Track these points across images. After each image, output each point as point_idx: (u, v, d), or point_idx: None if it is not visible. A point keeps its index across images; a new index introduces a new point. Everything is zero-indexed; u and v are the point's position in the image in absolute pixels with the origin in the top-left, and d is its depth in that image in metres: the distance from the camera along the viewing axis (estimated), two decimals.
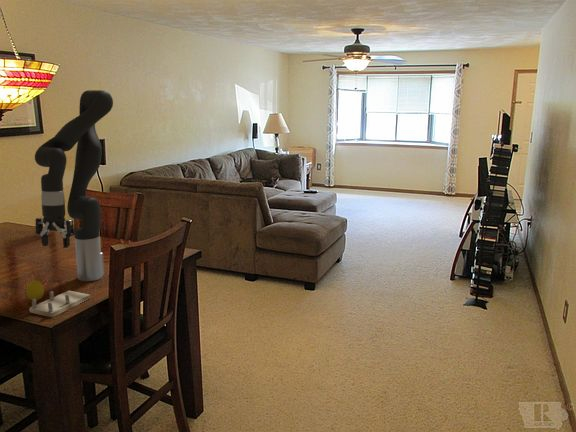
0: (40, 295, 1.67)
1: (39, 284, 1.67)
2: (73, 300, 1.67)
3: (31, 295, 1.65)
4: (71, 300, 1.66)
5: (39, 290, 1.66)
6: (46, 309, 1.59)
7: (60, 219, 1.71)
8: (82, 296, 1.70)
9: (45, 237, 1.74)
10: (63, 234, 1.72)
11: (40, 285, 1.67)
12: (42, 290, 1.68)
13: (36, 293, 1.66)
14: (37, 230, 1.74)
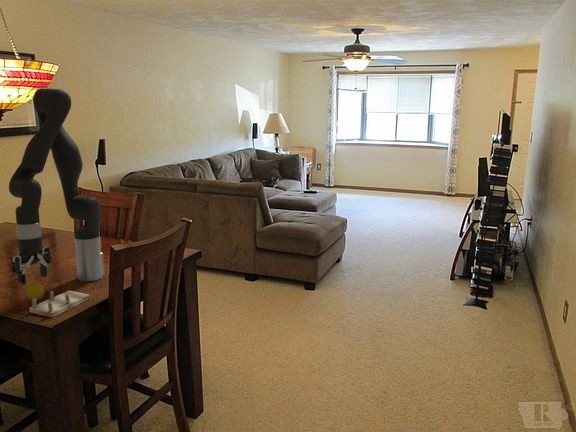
0: (40, 295, 1.67)
1: (39, 284, 1.67)
2: (73, 300, 1.67)
3: (31, 295, 1.65)
4: (71, 300, 1.66)
5: (39, 290, 1.66)
6: (46, 309, 1.59)
7: (41, 249, 1.67)
8: (82, 296, 1.70)
9: None
10: (45, 263, 1.69)
11: (40, 285, 1.67)
12: (42, 290, 1.68)
13: (36, 293, 1.66)
14: (18, 270, 1.59)
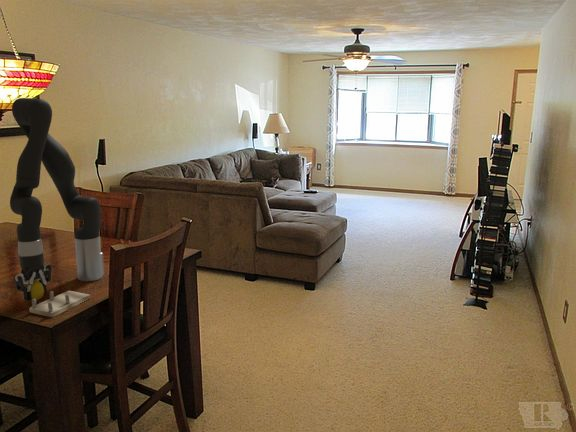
0: (40, 295, 1.67)
1: (39, 284, 1.67)
2: (73, 300, 1.67)
3: (31, 295, 1.65)
4: (71, 300, 1.66)
5: (39, 290, 1.66)
6: (46, 309, 1.59)
7: (43, 265, 1.69)
8: (82, 296, 1.70)
9: None
10: (44, 281, 1.70)
11: (40, 285, 1.67)
12: (42, 290, 1.68)
13: (36, 293, 1.66)
14: (23, 287, 1.62)
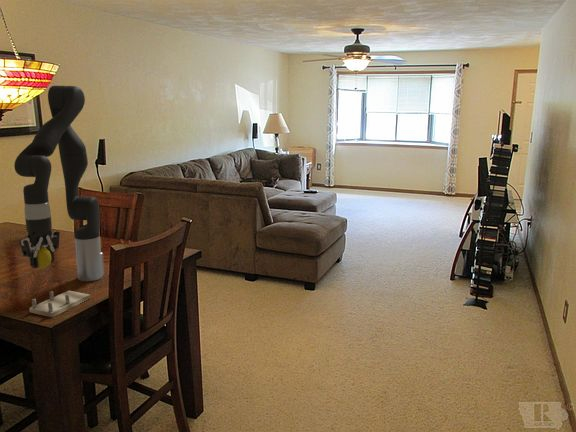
0: (47, 262, 1.58)
1: (46, 250, 1.58)
2: (73, 300, 1.67)
3: (38, 261, 1.57)
4: (71, 300, 1.66)
5: (46, 257, 1.58)
6: (46, 309, 1.59)
7: (50, 230, 1.60)
8: (82, 296, 1.70)
9: None
10: (51, 248, 1.61)
11: (47, 252, 1.58)
12: (49, 257, 1.59)
13: (43, 259, 1.57)
14: (29, 252, 1.53)
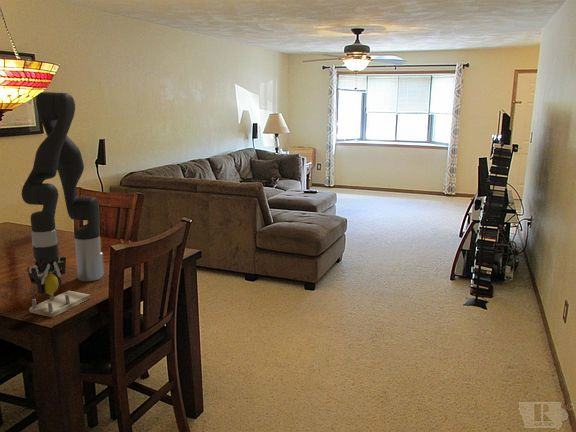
0: (54, 288, 1.60)
1: (53, 277, 1.59)
2: (73, 300, 1.67)
3: (45, 288, 1.58)
4: (71, 300, 1.66)
5: (53, 283, 1.59)
6: (46, 309, 1.59)
7: (57, 256, 1.61)
8: (82, 296, 1.70)
9: None
10: (58, 274, 1.62)
11: (54, 278, 1.60)
12: (56, 283, 1.60)
13: (51, 286, 1.58)
14: (37, 280, 1.54)
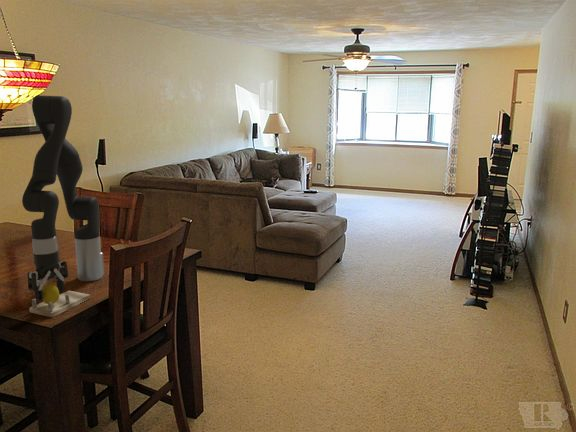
0: (55, 299, 1.60)
1: (54, 287, 1.60)
2: (73, 300, 1.67)
3: (46, 299, 1.59)
4: (71, 300, 1.66)
5: (54, 294, 1.60)
6: (46, 309, 1.59)
7: (57, 263, 1.61)
8: (82, 296, 1.70)
9: None
10: (61, 277, 1.64)
11: (55, 288, 1.60)
12: (57, 294, 1.61)
13: (52, 297, 1.59)
14: (35, 286, 1.54)
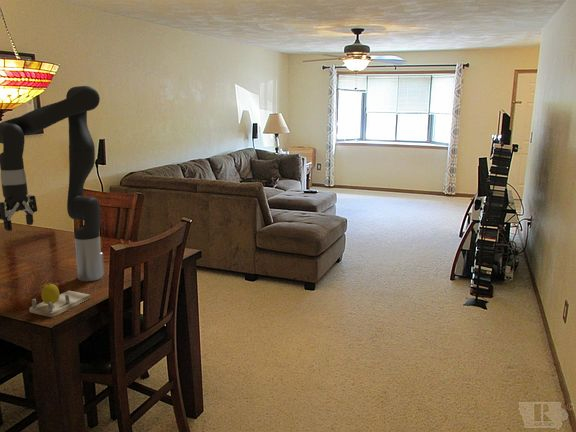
0: (56, 299, 1.60)
1: (54, 287, 1.60)
2: (73, 300, 1.67)
3: (46, 299, 1.59)
4: (71, 300, 1.66)
5: (55, 294, 1.60)
6: (46, 309, 1.59)
7: (26, 196, 1.68)
8: (82, 296, 1.70)
9: None
10: (30, 211, 1.70)
11: (55, 288, 1.60)
12: (58, 294, 1.61)
13: (52, 296, 1.59)
14: (4, 215, 1.60)
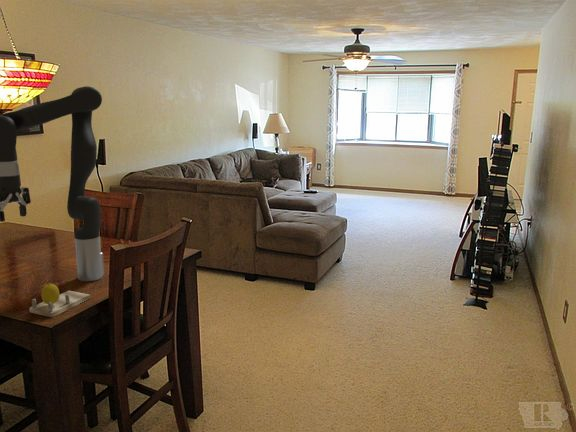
0: (56, 299, 1.60)
1: (54, 287, 1.60)
2: (73, 300, 1.67)
3: (46, 299, 1.59)
4: (71, 300, 1.66)
5: (55, 294, 1.60)
6: (46, 309, 1.59)
7: (19, 188, 1.70)
8: (82, 296, 1.70)
9: None
10: (24, 202, 1.73)
11: (56, 288, 1.60)
12: (58, 294, 1.61)
13: (52, 296, 1.59)
14: None
